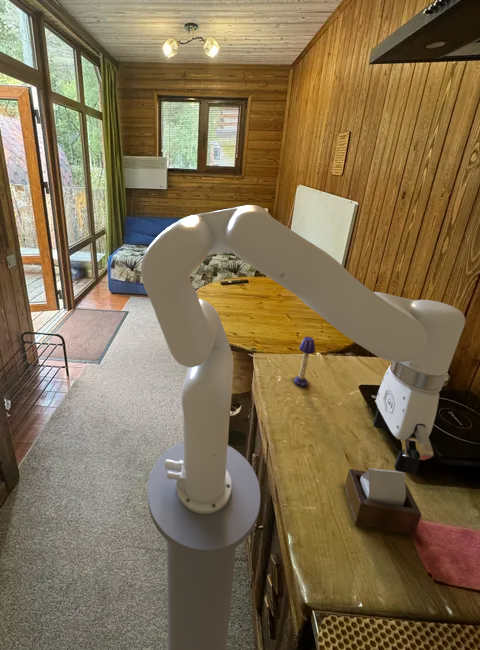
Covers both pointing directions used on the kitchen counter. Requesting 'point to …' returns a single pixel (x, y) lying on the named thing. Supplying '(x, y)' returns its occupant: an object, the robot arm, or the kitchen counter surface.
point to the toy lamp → (305, 360)
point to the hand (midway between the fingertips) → (392, 447)
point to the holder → (381, 509)
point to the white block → (383, 486)
